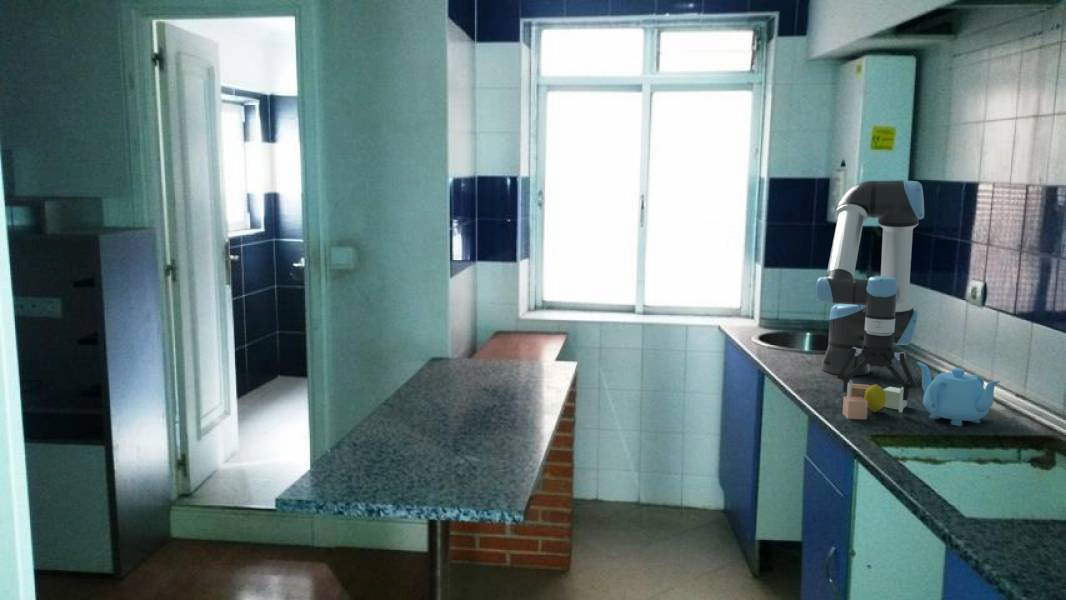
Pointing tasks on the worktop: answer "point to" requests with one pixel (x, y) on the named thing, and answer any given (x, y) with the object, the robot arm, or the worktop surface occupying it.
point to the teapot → (956, 395)
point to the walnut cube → (859, 390)
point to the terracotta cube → (855, 407)
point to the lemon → (875, 397)
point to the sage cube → (893, 398)
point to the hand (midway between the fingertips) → (874, 407)
